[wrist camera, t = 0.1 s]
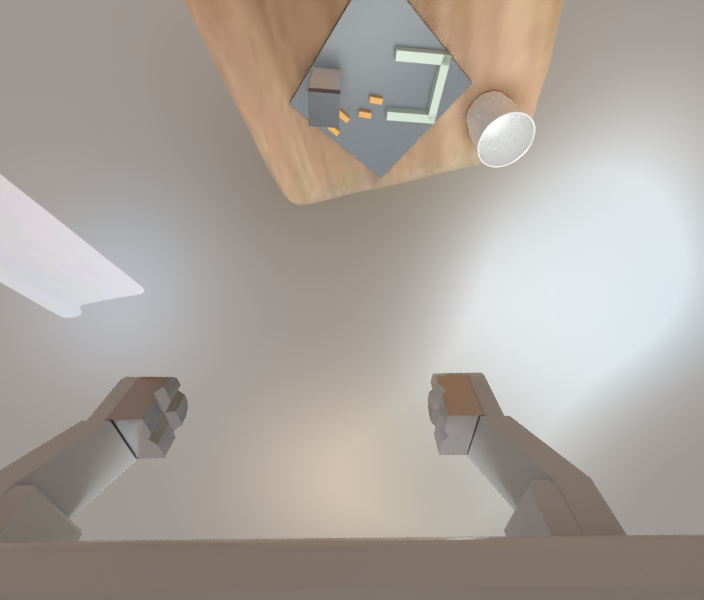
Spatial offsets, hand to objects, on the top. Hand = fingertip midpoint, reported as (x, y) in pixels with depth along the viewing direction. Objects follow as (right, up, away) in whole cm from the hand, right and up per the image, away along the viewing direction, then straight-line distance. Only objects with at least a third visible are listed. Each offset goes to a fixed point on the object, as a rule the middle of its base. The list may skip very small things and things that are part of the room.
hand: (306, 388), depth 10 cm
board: (+6, +35, +39) cm, 53 cm away
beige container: (-2, +36, +37) cm, 52 cm away
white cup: (+24, +34, +42) cm, 59 cm away
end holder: (+11, +36, +38) cm, 54 cm away
